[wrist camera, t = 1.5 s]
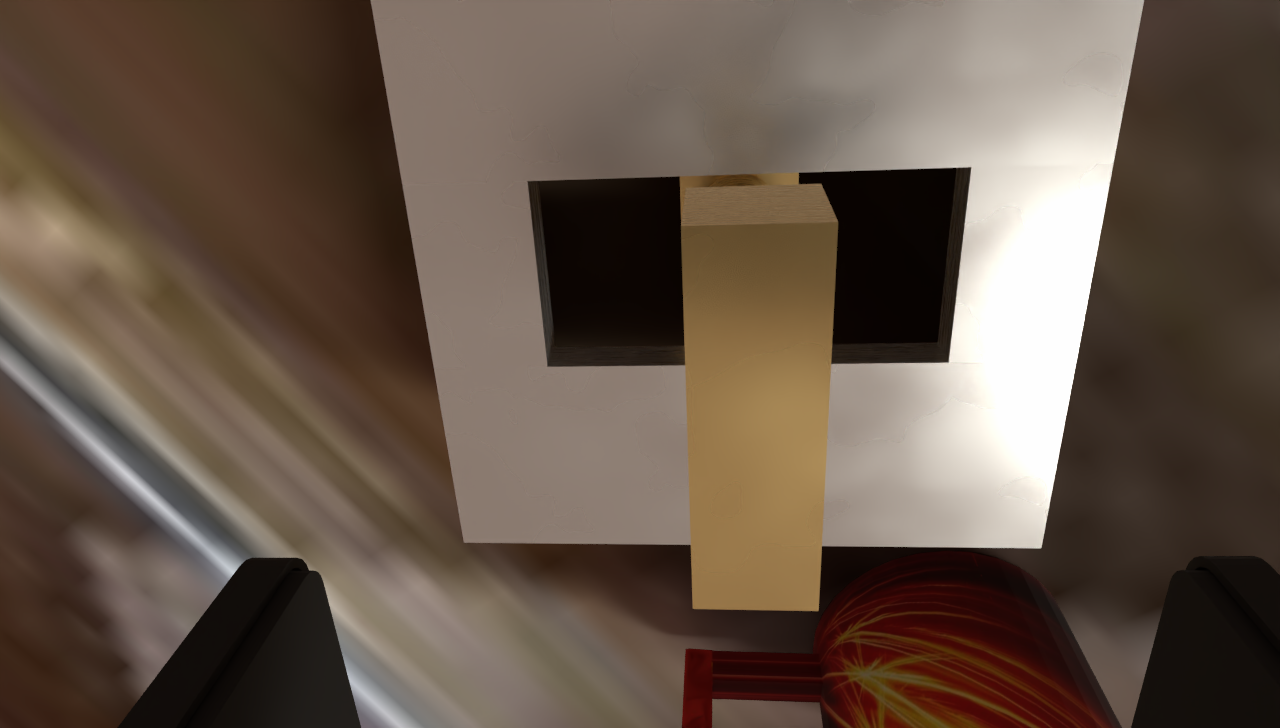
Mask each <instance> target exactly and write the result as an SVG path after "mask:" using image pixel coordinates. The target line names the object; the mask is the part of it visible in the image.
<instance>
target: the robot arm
mask: <svg viewBox="0 0 1280 728" xmlns="http://www.w3.org/2000/svg"><path fill="white" fill-rule="evenodd" d="M118 728H361V725H360V722H359V718H358V714H357V710H356V706H355V702H354V699H353V695H352V691H351V687H350V683H349V679H348V675H347V672H346V668H345V664H344V660H343V656H342V652H341V649H340V645H339V641H338V637H337V633H336V629H335V626H334V622H333V618H332V614H331V610H330V606H329V603H328V599H327V595H326V591H325V587H324V583H323V580H322V578H321V575H320V574H319V573H318V572H317V571H309V570H308V567H307V565H306V563H305V562H304V561H303V560H302V559H299V558H250V559H248V560H246V561H245V562H244V563H243V564H241V565H240V567H239V568H238V569H237V571H236V572H235V573H234V574H233V576H232V577H231V578H230V580H229V581H228V582H227V584H226V585H225V586H224V588H223V589H222V590H221V592H220V593H219V594H218V596H217V597H216V598H215V600H214V601H213V602H212V604H211V605H210V606H209V608H208V609H207V610H206V612H205V613H204V614H203V615H202V617H201V618H200V619H199V621H198V622H197V623H196V625H195V626H194V627H193V629H192V630H191V631H190V633H189V634H188V635H187V637H186V638H185V639H184V641H183V642H182V643H181V645H180V646H179V647H178V649H177V650H176V651H175V652H174V654H173V655H172V656H171V658H170V659H169V660H168V662H167V663H166V664H165V666H164V667H163V668H162V670H161V671H160V672H159V674H158V675H157V676H156V678H155V679H154V680H153V682H152V683H151V684H150V686H149V687H148V688H147V690H146V691H145V692H144V693H143V695H142V696H141V697H140V699H139V700H138V701H137V703H136V704H135V705H134V707H133V708H132V709H131V711H130V712H129V713H128V715H127V716H126V717H125V719H124V720H123V721H122V723H121V724H120V725H119V727H118ZM1131 728H1280V575H1279V574H1278V573H1277V572H1276V571H1275V570H1274V569H1273V568H1272V567H1271V566H1270V565H1269V564H1268V563H1267V562H1265V561H1264V560H1263V559H1261V558H1258V557H1255V556H1200V557H1196V558H1193V559H1192V560H1191V561H1190V562H1189V564H1188V566H1187V568H1186V570H1181V571H1177V572H1176V573H1175V574H1174V575H1173V576H1172V579H1171V581H1170V584H1169V588H1168V592H1167V595H1166V599H1165V603H1164V607H1163V610H1162V614H1161V618H1160V622H1159V625H1158V629H1157V633H1156V637H1155V640H1154V644H1153V648H1152V652H1151V655H1150V659H1149V663H1148V667H1147V670H1146V674H1145V678H1144V682H1143V685H1142V689H1141V693H1140V697H1139V700H1138V704H1137V708H1136V711H1135V715H1134V719H1133V723H1132V726H1131Z"/></svg>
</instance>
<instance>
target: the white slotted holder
mask: <svg viewBox="0 0 1280 728" xmlns="http://www.w3.org/2000/svg"><path fill="white" fill-rule="evenodd" d="M1143 3H1144V0H371V5H372V11H373V17H374V23H375V29H376V34H377V40H378V46H379V52H380V58H381V63H382V69H383V75H384V81H385V87H386V93H387V98H388V104H389V110H390V116H391V122H392V127H393V133H394V139H395V145H396V151H397V156H398V162H399V168H400V174H401V180H402V186H403V191H404V197H405V203H406V209H407V215H408V220H409V226H410V232H411V238H412V244H413V249H414V255H415V261H416V267H417V273H418V279H419V284H420V290H421V296H422V302H423V308H424V313H425V319H426V325H427V331H428V337H429V342H430V348H431V354H432V360H433V366H434V372H435V377H436V383H437V389H438V395H439V401H440V406H441V412H442V418H443V424H444V430H445V436H446V441H447V447H448V453H449V459H450V465H451V470H452V476H453V482H454V488H455V494H456V499H457V505H458V511H459V517H460V523H461V529H462V534H463V540H464V543H555V544H657V545H691V536H690V504H689V472H688V440H687V407H686V375H685V346H625V347H555V338H554V328H553V318H552V309H551V299H550V289H549V279H548V270H547V260H546V250H545V240H544V231H543V221H542V211H541V201H540V192H539V182H538V181H547V180H579V179H611V178H643V177H675V176H707V175H739V174H771V173H802V172H834V171H866V170H898V169H930V168H956V176H955V186H954V195H953V204H952V213H951V222H950V232H949V241H948V250H947V259H946V268H945V278H944V287H943V296H942V305H941V314H940V324H939V333H938V342H937V343H866V344H832V357H831V376H830V396H829V416H828V436H827V456H826V475H825V495H824V515H823V535H822V546H862V547H964V548H1041V547H1042V542H1043V536H1044V531H1045V526H1046V520H1047V515H1048V510H1049V504H1050V499H1051V494H1052V488H1053V483H1054V478H1055V472H1056V467H1057V462H1058V456H1059V451H1060V446H1061V440H1062V435H1063V430H1064V424H1065V419H1066V414H1067V408H1068V403H1069V398H1070V392H1071V387H1072V382H1073V376H1074V371H1075V366H1076V360H1077V355H1078V350H1079V344H1080V339H1081V334H1082V328H1083V323H1084V318H1085V312H1086V307H1087V302H1088V296H1089V291H1090V285H1091V280H1092V275H1093V269H1094V264H1095V259H1096V253H1097V248H1098V243H1099V237H1100V232H1101V227H1102V221H1103V216H1104V211H1105V205H1106V200H1107V195H1108V189H1109V184H1110V179H1111V173H1112V168H1113V163H1114V157H1115V152H1116V147H1117V141H1118V136H1119V131H1120V125H1121V120H1122V115H1123V109H1124V104H1125V99H1126V93H1127V88H1128V83H1129V77H1130V72H1131V67H1132V61H1133V56H1134V51H1135V45H1136V40H1137V35H1138V29H1139V24H1140V19H1141V13H1142V8H1143Z"/></svg>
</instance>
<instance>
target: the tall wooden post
mask: <svg viewBox="0 0 1280 728" xmlns="http://www.w3.org/2000/svg"><path fill="white" fill-rule="evenodd" d="M680 202H681V247H682V279H683V311H684V343H685V375H686V407H687V440H688V472H689V504H690V536H691V568H692V600H693V609H724V610H782V611H819V594H820V574H821V554H822V535H823V515H824V495H825V475H826V456H827V436H828V416H829V396H830V376H831V357H832V337H833V317H834V297H835V278H836V258H837V238H838V220H837V218H836V216H835V214H834V211H833V209H832V207H831V205H830V202H829V200H828V198H827V196H826V193H825V191H824V189H823V187H822V184H799V173H771V174H739V175H707V176H680Z"/></svg>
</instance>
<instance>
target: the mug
mask: <svg viewBox="0 0 1280 728" xmlns="http://www.w3.org/2000/svg"><path fill="white" fill-rule="evenodd" d="M712 699H735V700H764V701H794V702H820V708H821V715H822V723H823V728H1122V727H1121V725H1120V723H1119V721H1118V719H1117V718H1116V716H1115V714H1114V712H1113V710H1112V708H1111V706H1110V704H1109V702H1108V700H1107V698H1106V696H1105V694H1104V693H1103V691H1102V689H1101V687H1100V685H1099V683H1098V681H1097V679H1096V677H1095V675H1094V673H1093V671H1092V669H1091V668H1090V666H1089V664H1088V662H1087V660H1086V658H1085V656H1084V654H1083V652H1082V650H1081V648H1080V646H1079V644H1078V643H1077V641H1076V639H1075V637H1074V635H1073V633H1072V631H1071V629H1070V627H1069V625H1068V623H1067V621H1066V619H1065V618H1064V616H1063V614H1062V612H1061V610H1060V608H1059V606H1058V605H1057V603H1056V601H1055V599H1054V597H1053V596H1052V594H1051V593H1050V592H1049V591H1048V590H1047V589H1046V588H1045V587H1044V586H1043V585H1042V584H1041V583H1040V582H1039V581H1038V580H1037V579H1036V578H1034V577H1033V576H1031V575H1030V574H1028V573H1027V572H1025V571H1024V570H1022V569H1021V568H1019V567H1017V566H1015V565H1012V564H1010V563H1008V562H1005V561H1003V560H1000V559H998V558H995V557H990V556H986V555H981V554H977V553H973V552H958V551H937V552H926V553H918V554H914V555H910V556H906V557H902V558H898V559H894V560H892V561H889V562H887V563H885V564H882V565H880V566H877V567H875V568H873V569H871V570H869V571H867V572H866V573H864V574H863V575H861V576H860V577H858V578H856V579H855V580H853V581H852V582H850V583H849V584H848V585H847V586H846V587H845V588H844V589H843V590H842V591H841V592H840V593H838V594H837V595H836V596H835V597H834V599H833V600H832V601H831V603H830V604H829V606H828V607H827V608H826V610H825V611H824V613H823V614H822V617H821V619H820V622H819V624H818V626H817V629H816V631H815V638H814V645H813V654H803V653H769V652H734V651H713V650H702V649H686V654H685V673H684V695H683V717H682V728H712Z"/></svg>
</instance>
